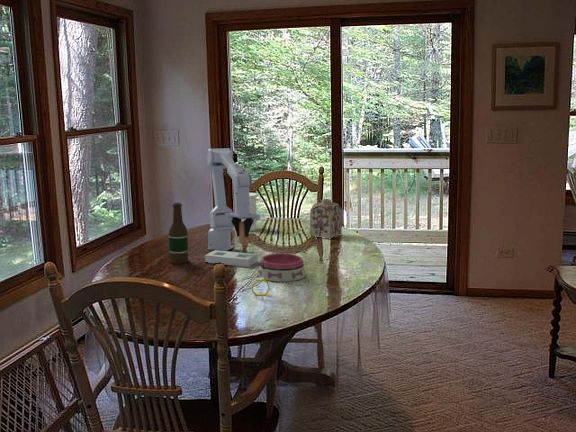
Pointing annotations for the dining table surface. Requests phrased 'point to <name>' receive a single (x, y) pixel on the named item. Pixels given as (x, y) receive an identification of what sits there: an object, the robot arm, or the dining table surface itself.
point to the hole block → (231, 258)
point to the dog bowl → (281, 268)
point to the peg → (242, 233)
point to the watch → (260, 281)
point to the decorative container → (252, 210)
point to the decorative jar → (325, 219)
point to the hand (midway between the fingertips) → (242, 236)
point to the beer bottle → (178, 237)
